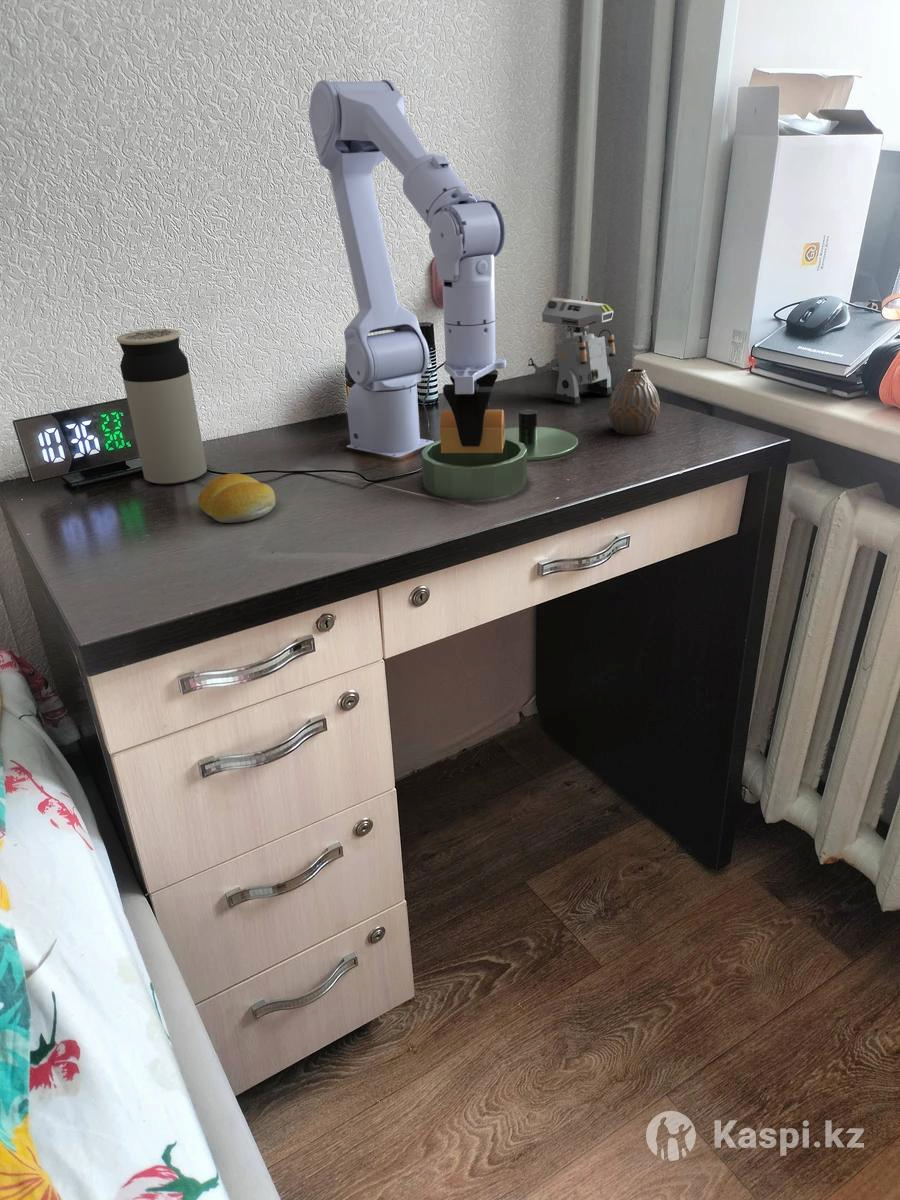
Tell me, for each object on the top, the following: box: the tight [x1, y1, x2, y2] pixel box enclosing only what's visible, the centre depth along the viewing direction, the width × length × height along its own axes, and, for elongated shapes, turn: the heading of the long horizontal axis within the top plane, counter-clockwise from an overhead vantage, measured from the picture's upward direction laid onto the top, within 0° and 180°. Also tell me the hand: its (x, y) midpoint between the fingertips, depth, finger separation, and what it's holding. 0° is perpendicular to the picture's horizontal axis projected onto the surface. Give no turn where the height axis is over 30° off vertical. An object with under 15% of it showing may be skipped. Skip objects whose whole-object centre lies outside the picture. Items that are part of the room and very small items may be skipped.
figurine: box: [527, 297, 617, 405], centre depth 136 cm, size 9×12×15 cm
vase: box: [608, 367, 661, 436], centre depth 119 cm, size 7×7×9 cm
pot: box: [420, 437, 528, 501], centre depth 105 cm, size 12×12×4 cm
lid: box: [505, 408, 579, 462], centre depth 116 cm, size 13×13×5 cm
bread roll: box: [197, 473, 276, 524], centre depth 101 cm, size 8×9×4 cm
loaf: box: [439, 409, 506, 453], centre depth 103 cm, size 7×4×4 cm, turn 83°
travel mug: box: [116, 328, 208, 485], centre depth 110 cm, size 8×8×18 cm
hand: (473, 439), depth 103 cm, fingers closed on loaf, 4 cm apart
